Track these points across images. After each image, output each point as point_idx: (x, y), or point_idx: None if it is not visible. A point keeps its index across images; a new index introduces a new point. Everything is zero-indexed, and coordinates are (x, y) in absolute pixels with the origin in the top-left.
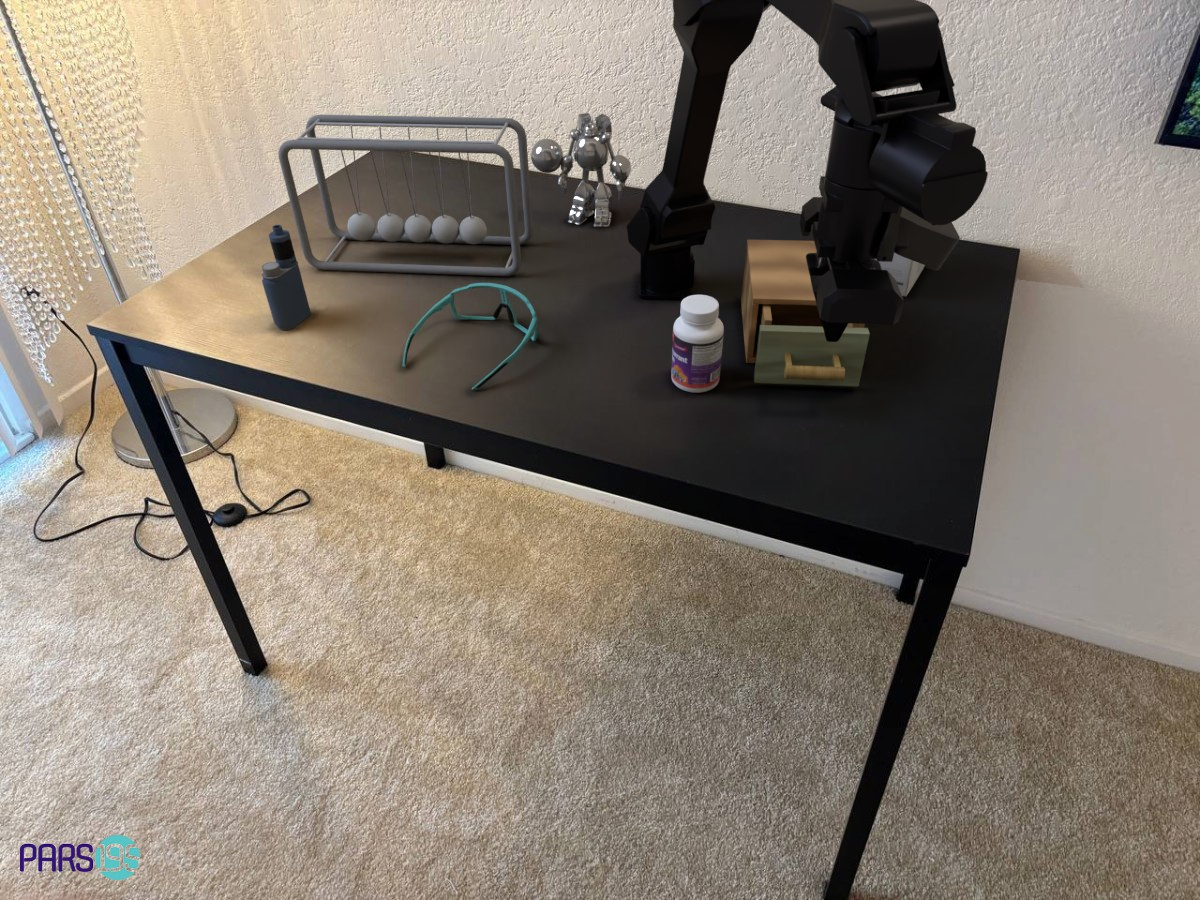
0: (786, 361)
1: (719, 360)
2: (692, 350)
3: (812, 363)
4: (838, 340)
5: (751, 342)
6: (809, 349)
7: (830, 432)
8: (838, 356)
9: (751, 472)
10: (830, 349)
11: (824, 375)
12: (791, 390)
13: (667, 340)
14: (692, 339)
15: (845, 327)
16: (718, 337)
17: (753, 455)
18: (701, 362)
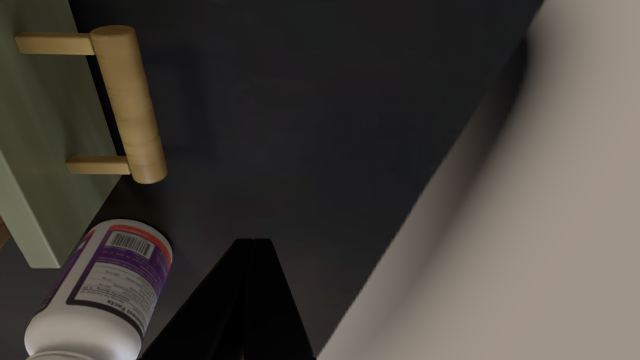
0: (110, 173)
1: (119, 261)
2: (146, 328)
3: (57, 92)
4: (270, 241)
5: None
6: (39, 125)
7: (247, 29)
8: (24, 37)
9: (375, 180)
10: (12, 68)
11: (144, 90)
12: (105, 95)
13: (23, 280)
14: (137, 352)
15: (290, 295)
16: (106, 316)
17: (331, 175)
18: (151, 295)
